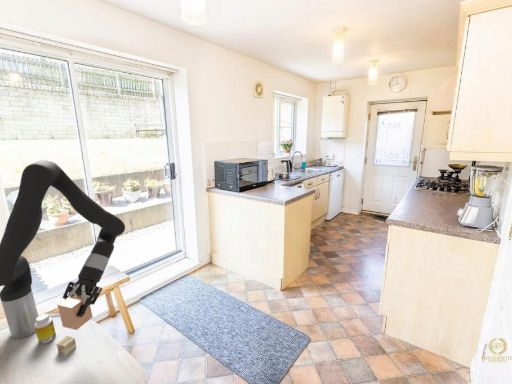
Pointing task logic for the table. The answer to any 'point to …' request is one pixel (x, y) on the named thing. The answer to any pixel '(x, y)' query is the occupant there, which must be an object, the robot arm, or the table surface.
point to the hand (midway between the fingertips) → (71, 314)
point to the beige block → (66, 345)
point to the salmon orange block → (73, 312)
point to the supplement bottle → (44, 328)
